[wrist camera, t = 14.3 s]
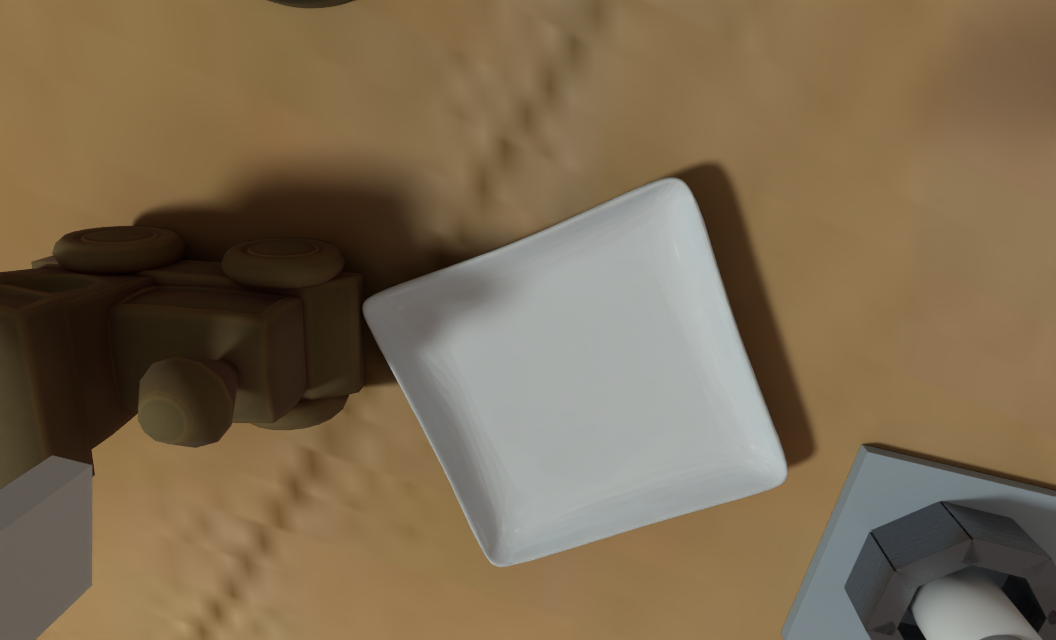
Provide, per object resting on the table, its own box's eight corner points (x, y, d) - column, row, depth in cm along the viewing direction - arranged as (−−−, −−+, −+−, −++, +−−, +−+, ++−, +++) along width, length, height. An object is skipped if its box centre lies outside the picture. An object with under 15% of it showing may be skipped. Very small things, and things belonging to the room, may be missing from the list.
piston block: (861, 444, 44) (920, 520, 36) (1103, 502, 44) (1216, 592, 36) (781, 632, 50) (816, 736, 42) (997, 685, 49) (1074, 800, 41)
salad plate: (783, 459, 46) (798, 486, 43) (498, 545, 50) (491, 576, 47) (679, 162, 40) (686, 168, 37) (370, 288, 45) (352, 303, 42)
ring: (889, 488, 44) (916, 524, 40) (1064, 530, 44) (1107, 571, 40) (826, 625, 48) (846, 670, 44) (987, 664, 48) (1020, 713, 44)
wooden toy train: (103, 372, 48) (-135, 503, 33) (78, 213, 45) (-202, 275, 29) (376, 397, 47) (264, 548, 31) (373, 235, 43) (246, 313, 28)
